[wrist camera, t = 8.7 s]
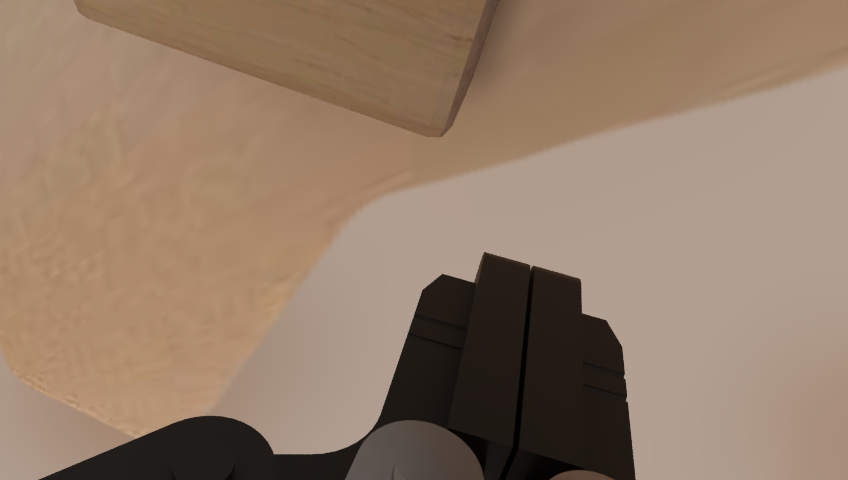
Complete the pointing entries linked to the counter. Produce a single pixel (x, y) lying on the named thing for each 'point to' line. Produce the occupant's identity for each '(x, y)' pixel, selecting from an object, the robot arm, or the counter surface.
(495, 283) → the robot arm
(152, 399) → the counter surface
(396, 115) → the wooden block
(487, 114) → the counter surface
